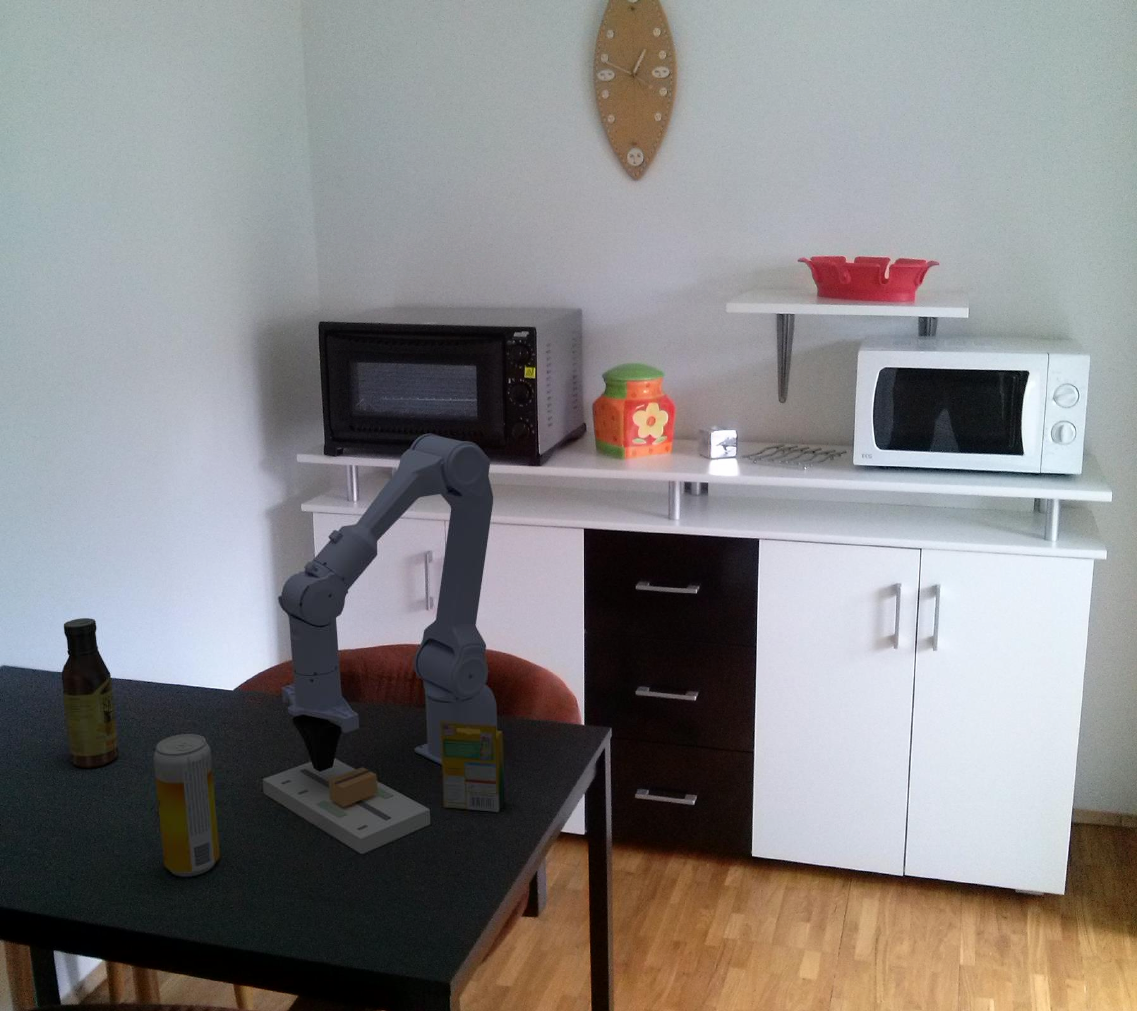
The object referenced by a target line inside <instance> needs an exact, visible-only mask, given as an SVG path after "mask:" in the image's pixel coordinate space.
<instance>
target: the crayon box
mask: <svg viewBox="0 0 1137 1011" xmlns="http://www.w3.org/2000/svg"><path fill="white" fill-rule="evenodd" d="M466 727H470V728H472V729H463V728H466ZM477 729H479V730H477ZM441 734H442V735H441V749H442V765H441V768H442V770H441V772H442V774H441V775H442V797H443V798H442V799H443V802H442V803H443V808H444V809H460V810H470V811H471V810H472V811H480V812H481V811H484V812H493V813H500V811H501V809H502V807H503V806H504V804H505V803H506V802H505V800H506V798H505V796H506V795H505V793H506V792H505V770H504V767H505V766H504V764H505V763H504V741H503V740H504V738H503V737H504V735H503V731H502V730H497V731H496V725H484V724H469V723H455V722H441Z"/></svg>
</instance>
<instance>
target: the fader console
mask: <svg viewBox="0 0 1137 1011" xmlns="http://www.w3.org/2000/svg"><path fill="white" fill-rule="evenodd" d="M354 770H357V769H356V768H354V767H352V766H350V765H348V764H346V763H344V762H342V761H341V760H339V759H337V758H334V763H333V767H332V768H329V769H326V770H324V771H321V772H319V771H317V770H315V769H314V767H313V765H312V762H311V761H309V762H306V763H304V764H301V765H297V766H295V767H293V768H289V769H286V770H283V771H281V772H278V773H276V774H274V775H271V776H270V775H269V776H268V777H265V778H263V779H262V788H263V794H264V795H265V796H267V797H269V798H271V799H272V800H274V801H275V802H277V803H278V804H280V805H282V806H283V807H285V808H286V809H288V810H290V811H291V812H293V813H295V814H296V815H298V816H299V817H301V818H302V819H304V820H305V821H307V822H308V823H310V824H311V825H314V826H315V827H317V828H319V829H320V830H322V831H323V832H325V833H327V834H329V835H330V836H331V837H333V838H335V839H336V840H338V841H340V842H341V843H342V844H345V845H346V846H348V847H349V848H351V849H352V850H354V851H355V852H358V853H359V854H360V855H364V854H366V853H368V852H371V851H373V850H375V849H378V848H380V847H382V846H384V845H386V844H389V843H391V842H393V841H397V840H398V839H400V838H402V837H405V836H407V835H409V834H411V833H413V832H416V831H418V830H420V829H424V828H425V827H427V826H429V825H431V814H430V813H431V811H430V808H428V807H426V806H424V805H423V804H421V803H418V802H417V801H415V800H413V799H411V798H409V797H407V796H406V795H404V794H402V793H400V792H398V791H396V790H394V789H393V788H391V787H389V786H387V785H385V784H383V783H382V782H379V781H378V780H377V791H378V793H377V794H374V795H372V796H369V797H367V798H364V799H362V800H359V801H357V802H354V803H352V804H349V805H347V806H344V807H343V806H341V805H340V804H338V803H336V802H334V801H333V800H331V799H330V793H329V780H330V779H333V778H335V777H338V776H341V775H343V774H346V773H349V772H351V771H354Z"/></svg>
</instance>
